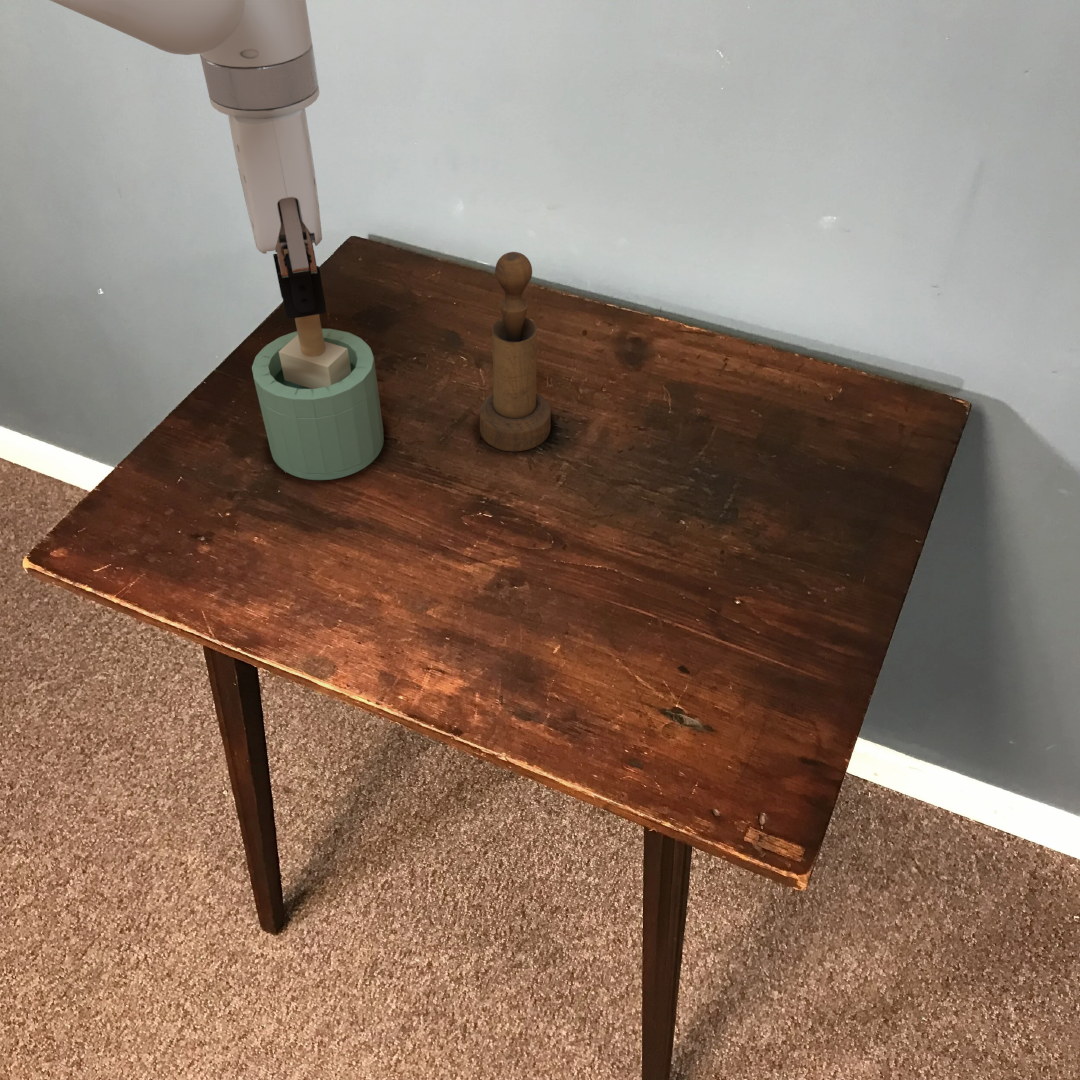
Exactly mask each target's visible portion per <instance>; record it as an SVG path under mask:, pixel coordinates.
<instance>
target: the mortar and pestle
mask: <svg viewBox="0 0 1080 1080" xmlns="http://www.w3.org/2000/svg"><path fill="white" fill-rule="evenodd" d="M494 268H495V270H494V274H495V278H496V281H497V282H498V284H499V286H500V287H501V288H502V290H503V291H504V294H505V295H504V299H503V300H502V301H501V302H500V307H499V308H500V312H501V315H502V317H501V318H499V319H497V320H496V321H495V322H494V323H493V324H492V327H491V342H492V343H491V346H492V394H490V395H488V396H487V397H486V398H485V399H484V400H483V402H482V403H481V404H480V408H479V432H480V436H481V438H482V439H483V440H484V442H486V444H488V445H489V446H491V447H493V448H495V449H497V450H501V451H504V452H512V453H513V452H524V451H528V450H532V449H534V448H537V447H538V446H540V445H542V444H543V443H544V442H545V441H546V440H547V439H548V437H549V435H550V433H551V426H552V424H551V423H552V422H551V421H552V420H551V418H552V411H551V406H550V404H549V402H548V400H547V399H546V398H545V397H543V396H542V395H541V394H540V393H537V376H538V375H537V371H538V370H537V368H538V367H537V366H538V365H537V363H538V361H537V360H538V327H537V325H536V323H535V322H534V321H533V320H531V319H529V318H528V317H527V313H528V307H529V303H528V301H527V300H526V299H524V298H523V293H524V291H525V290H526V288H527V286H528V284H529V283H530V282H531V279H532V276H533V267H532V263H531V261H530V259H529V258H528V257H527V256H526V255H525V254H523V253H521V252H519V251H518V252H517V251H510V252H509V251H508V252H505V253H504V254H503V255H501V256H500V257H499V258H498V260H497V261H496V264H495V267H494Z"/></svg>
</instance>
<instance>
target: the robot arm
mask: <svg viewBox="0 0 1080 1080" xmlns="http://www.w3.org/2000/svg"><path fill="white" fill-rule="evenodd" d="M49 1H50V2H53V3H55V4H57V5H59V6H62V7H64V8H67V9H69V10H70V11H73V12H75V13H77V14H80V15H82V16H85V17H87V18H89V19H91V20H94V21H96V22H98V23H101V24H103V25H105V26H107V27H109V28H111V29H114V30H116V31H119V32H120V33H123V34H125V35H127V36H129V37H132V38H134V39H136V40H139V41H140V42H143V43H145V44H147V45H150V46H152V47H154V48H156V49H159V50H161V51H163V52H166V53H169V54H173V55H181V56H182V55H183V56H190V55H198V54H199V58H200V62H201V65H202V70H203V76H204V79H205V83H206V88H207V93H208V98H209V103H210V105H211V107H213V109H215V110H216V111H218V112H219V113H220V114H221V113H222V114H224V115H226V116H228V121H229V122H228V123H229V129H230V134H231V140H232V146H233V150H234V155H235V160H236V165H237V169H238V174H239V178H240V183H241V187H242V193H243V196H244V201H245V206H246V210H247V213H248V214H247V215H248V218H249V219H248V220H249V223H250V227H251V231H252V235H253V240H254V244H255V248H256V249H257V250H258V251H259V252H260V253H261V254H263V255H266V254H267V252H275V253H273V254H272V257H273V261H274V266H275V272H276V276H277V281H278V286H279V291H280V295H281V298H282V302H283V307H284V312H285V316H286V318H288V319H292V320H293V319H295V318H299V317H305V316H311V315H317V314H319V315H322V314H325V313H326V312H327V306H326V299H325V295H324V294H325V293H324V287H323V282H322V275H321V270H320V266H319V265H317V259H316V254H315V249H314V246H315V247H317V246H318V245H319V244H320V243H321V242H322V240H323V234H322V222H321V221H322V220H321V211H320V203H319V196H318V186H317V178H316V171H315V164H314V158H313V151H312V144H311V138H310V137H311V136H310V131H309V124H308V117H307V111H306V108H309V106H311V105H313V104H314V103H315V102H316V101H317V100H318V98H319V96H320V86H319V80H318V73H317V67H316V66H317V65H316V59H315V52H314V45H313V40H312V33H311V26H310V18H309V12H308V6H307V0H49ZM305 247H306V250H305ZM284 249H288V252H289V253H287V254H284ZM285 255H286V256H285Z"/></svg>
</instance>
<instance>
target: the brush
mask: <svg viewBox="0 0 1080 1080" xmlns="http://www.w3.org/2000/svg"><path fill="white" fill-rule="evenodd" d="M305 250H306V247H305ZM287 253H289V252H288V249H284V254H287ZM285 256H286V255H285ZM294 323H295V326H296V331H297V333H298V335H297V336H296V337H295V338H293V339H292V340H291V341H290V342H289V343H288V344H287V345H286V346H284V347H283V348H282V349H281V350H280V351H279V356H280V361H281V366H282V370H283V375H284V380H285V381H289V382H292V383H295V384H298V385H301V386H304V387H307V388H310V389H316V388H322V387H327V386H330V385H333V384H335V383H338V382H340V381H342V380H343V379H345V378H346V377H348V376H349V375H350V374H351V367H350V361H349V354H348V348H345V347H342V346H338V345H335V344H332V343H328V342H325V341H324V340H323V334H322V329H323V328H322V323H321V318H320V314H317V315H311V316H305V317H299V318H294Z"/></svg>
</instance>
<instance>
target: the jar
mask: <svg viewBox="0 0 1080 1080" xmlns="http://www.w3.org/2000/svg"><path fill="white" fill-rule="evenodd" d="M322 334H323V340H324V341H325V342H328V343H332V344H335V345H338V346H342V347H345V348H348V354H349V361H350V367H351V374H350V375H349V376H348V377H346V378H345V379H343V380H342V381H340V382H338V383H335V384H333V385H330V386H327V387H322V388H316V389H310V388H307V387H304V386H301V385H298V384H295V383H292V382H289V381H285V380H284V375H283V370H282V366H281V361H280V356H279V351H280V350H281V349H282V348H283V347H284V346H286V345H287V344H288V343H289V342H290V341H291V340H292V339H293V338H295V337H296V336H297V335H298V333H297V330H296V331H293V332H290V333H288V334H284V335H282V336H279V337H278V338H276V339H273V341H271V342H270V343H267V344H266V345H265V346H264V347H263V348H262V349H261V350H260V351H259V352H258V353H257V354H256V355H255V356H254V360H253V363H252V366H251V371H252V377H253V381H254V382H253V383H254V386H255V390H256V394H257V398H258V403H259V406H260V411H261V415H262V420H263V424H264V430H265V433H266V436H267V441H268V446H269V450H270V453H271V457H272V459H273V461H274V462H275V464H276V465H277V467H279V468H280V469H281V470H283V471H284V472H285V473H287V474H289V475H291V476H294V477H296V478H300V479H303V480H310V481H329V480H337V479H341V478H345V477H348V476H352V475H354V474H356V473H358V472H360V471H362V470H364V469H365V468H366V467H368V466H369V465H370V464H372V463H373V462H374V461H375V460H376V459H377V458H378V456H379V455H380V453H381V451H382V449H383V446H384V442H385V440H384V436H385V435H384V425H383V424H384V423H383V417H382V409H381V400H380V394H379V386H378V379H377V378H378V377H377V371H376V363H375V362H376V361H375V357H374V353H373V351H372V349H371V347H370V346H369V345H368V343H366V342H365V341H364V340H363V339H362V338H361V337H359V336H357V335H356V334H353V333H352V332H348V331H344V330H338V329H333V328H322Z"/></svg>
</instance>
